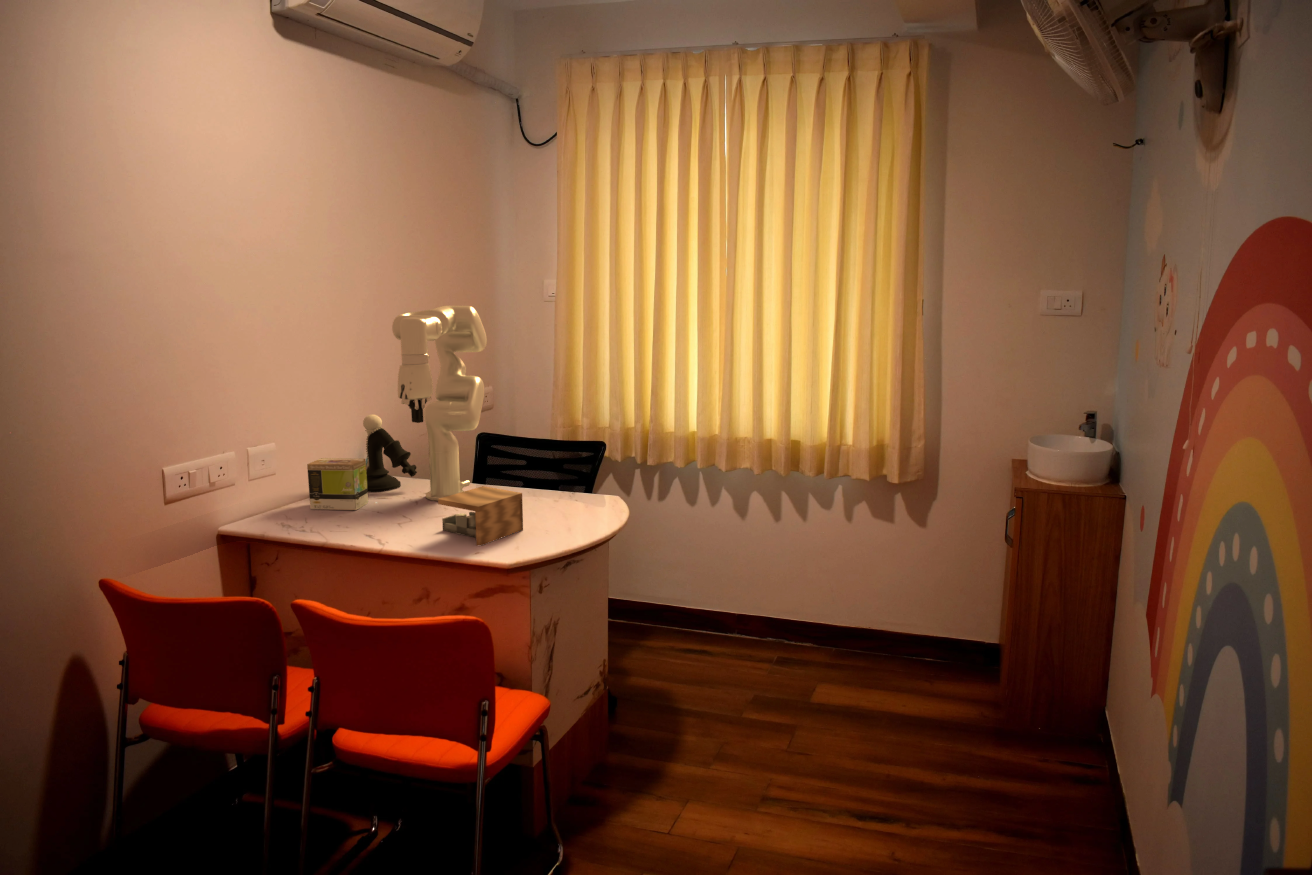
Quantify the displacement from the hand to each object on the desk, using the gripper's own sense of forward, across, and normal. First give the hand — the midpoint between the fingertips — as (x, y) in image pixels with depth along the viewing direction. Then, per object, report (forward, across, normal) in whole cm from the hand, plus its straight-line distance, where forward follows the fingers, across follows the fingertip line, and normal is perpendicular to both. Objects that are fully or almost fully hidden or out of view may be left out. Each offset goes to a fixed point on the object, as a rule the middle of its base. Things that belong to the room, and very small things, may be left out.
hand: (417, 422), depth 270 cm
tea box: (+29, +5, -31) cm, 43 cm away
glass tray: (+29, +4, +23) cm, 37 cm away
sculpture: (+29, -20, -37) cm, 51 cm away
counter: (+29, +3, +27) cm, 40 cm away
